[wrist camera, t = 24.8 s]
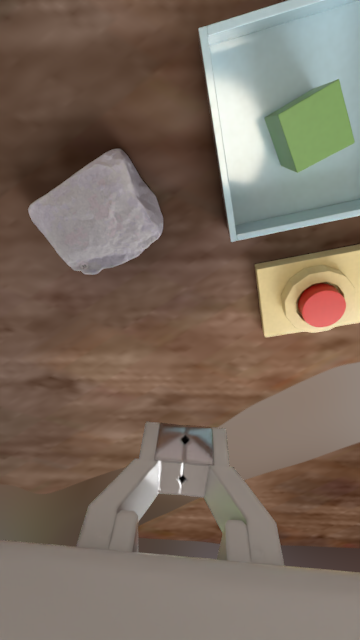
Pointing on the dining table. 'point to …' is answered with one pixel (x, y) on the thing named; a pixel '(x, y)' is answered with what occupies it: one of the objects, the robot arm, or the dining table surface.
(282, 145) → the green block
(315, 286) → the button
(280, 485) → the dining table surface
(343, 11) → the basin
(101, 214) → the stone block
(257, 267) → the button housing
